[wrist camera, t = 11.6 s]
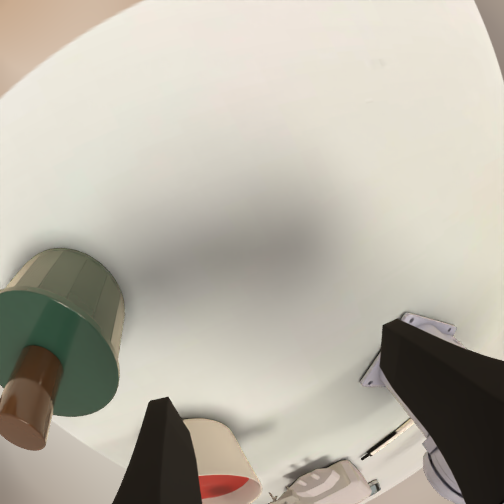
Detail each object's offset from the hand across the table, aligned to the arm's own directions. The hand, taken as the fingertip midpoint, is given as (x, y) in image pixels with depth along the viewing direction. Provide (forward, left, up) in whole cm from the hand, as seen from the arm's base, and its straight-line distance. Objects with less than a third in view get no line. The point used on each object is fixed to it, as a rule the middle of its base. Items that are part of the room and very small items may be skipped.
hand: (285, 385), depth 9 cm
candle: (-3, +17, -10) cm, 20 cm away
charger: (-23, +26, -11) cm, 36 cm away
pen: (-32, +13, -10) cm, 36 cm away
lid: (+9, +6, -5) cm, 12 cm away
